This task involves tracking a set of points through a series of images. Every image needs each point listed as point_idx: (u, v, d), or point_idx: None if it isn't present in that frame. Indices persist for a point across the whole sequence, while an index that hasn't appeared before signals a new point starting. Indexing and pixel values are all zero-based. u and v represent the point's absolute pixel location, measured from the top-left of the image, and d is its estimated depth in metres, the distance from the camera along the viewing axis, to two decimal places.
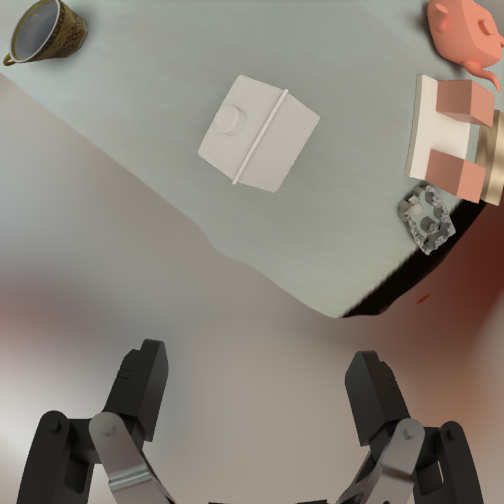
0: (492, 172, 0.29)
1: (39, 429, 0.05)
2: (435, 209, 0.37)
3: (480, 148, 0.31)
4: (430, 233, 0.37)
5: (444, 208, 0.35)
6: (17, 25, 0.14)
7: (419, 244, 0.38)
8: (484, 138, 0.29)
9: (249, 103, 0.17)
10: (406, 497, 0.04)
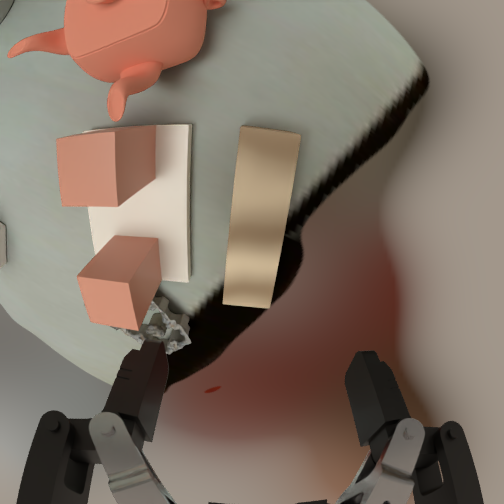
0: (228, 258, 0.24)
1: (39, 429, 0.05)
2: (166, 306, 0.32)
3: None
4: (154, 336, 0.32)
5: None
6: None
7: None
8: None
9: None
10: (406, 498, 0.04)
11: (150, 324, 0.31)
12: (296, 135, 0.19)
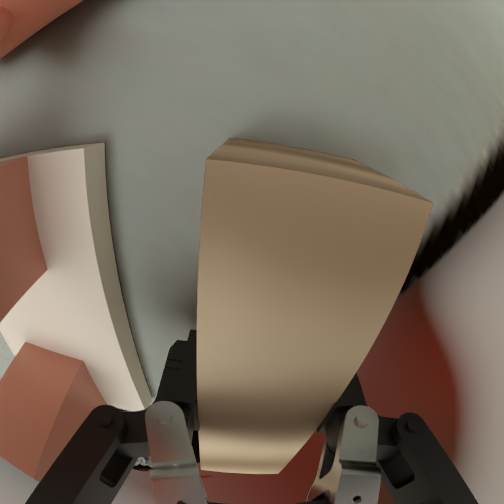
0: (202, 443, 0.09)
1: (88, 420, 0.06)
2: None
3: None
4: None
5: None
6: None
7: None
8: None
9: None
10: (377, 487, 0.04)
11: None
12: (419, 203, 0.05)
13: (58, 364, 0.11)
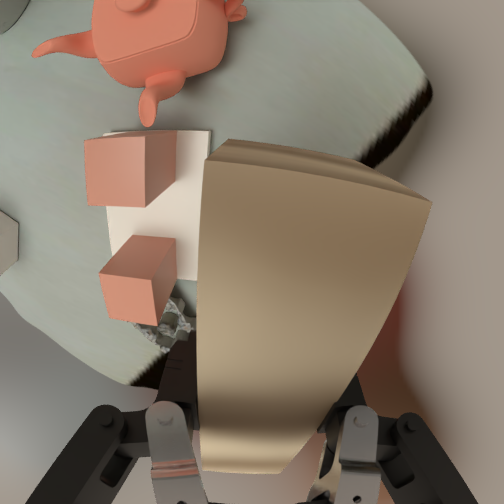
0: (203, 443, 0.09)
1: (88, 420, 0.06)
2: None
3: None
4: (163, 333, 0.33)
5: (181, 314, 0.31)
6: None
7: (150, 338, 0.34)
8: None
9: None
10: (376, 487, 0.04)
11: (163, 322, 0.32)
12: (418, 202, 0.05)
13: (160, 240, 0.27)
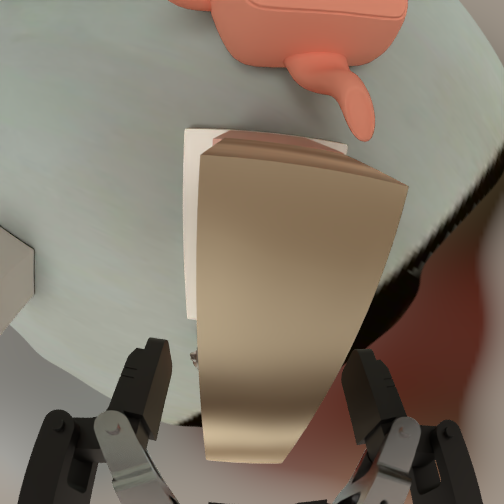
0: (206, 429, 0.10)
1: (43, 428, 0.05)
2: None
3: None
4: None
5: None
6: None
7: None
8: None
9: None
10: (403, 496, 0.04)
11: None
12: (395, 186, 0.05)
13: None
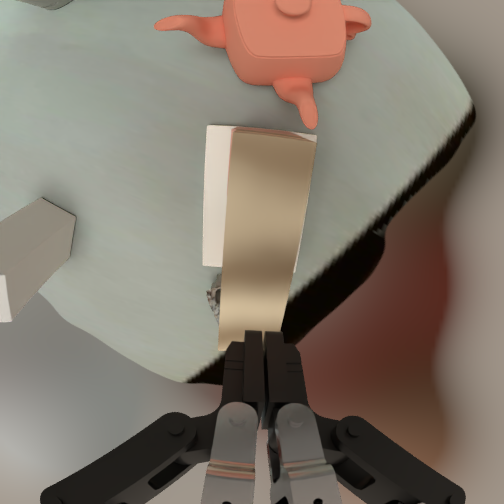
0: (222, 302, 0.19)
1: (155, 423, 0.07)
2: None
3: None
4: None
5: None
6: None
7: None
8: None
9: None
10: (335, 484, 0.05)
11: None
12: (310, 143, 0.14)
13: None
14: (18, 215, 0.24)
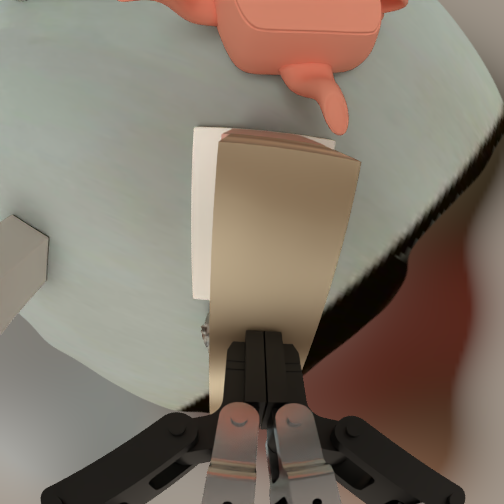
0: (212, 378, 0.13)
1: (156, 423, 0.07)
2: None
3: None
4: None
5: None
6: None
7: None
8: None
9: None
10: (334, 484, 0.05)
11: None
12: (350, 162, 0.08)
13: None
14: None
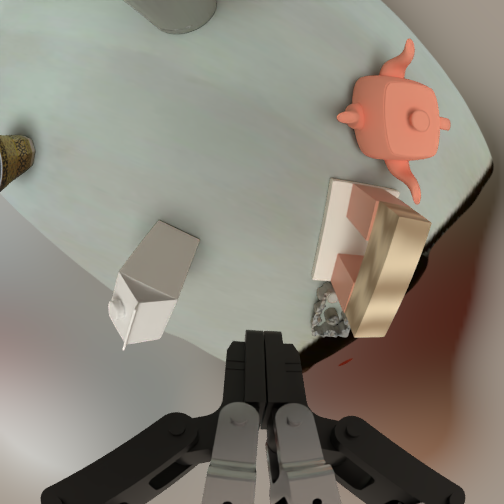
0: (369, 306, 0.29)
1: (157, 424, 0.07)
2: None
3: (366, 263, 0.31)
4: (328, 322, 0.46)
5: None
6: None
7: (313, 323, 0.46)
8: (373, 252, 0.29)
9: (124, 300, 0.26)
10: (334, 484, 0.05)
11: (335, 315, 0.46)
12: (428, 223, 0.24)
13: (360, 257, 0.40)
14: (151, 239, 0.34)
